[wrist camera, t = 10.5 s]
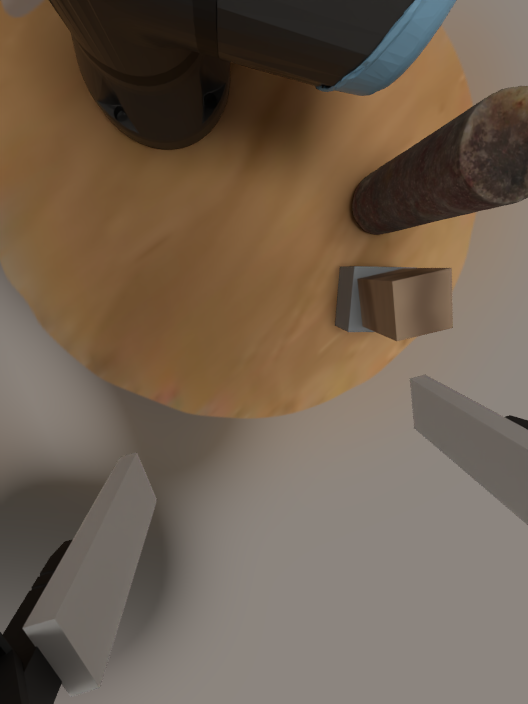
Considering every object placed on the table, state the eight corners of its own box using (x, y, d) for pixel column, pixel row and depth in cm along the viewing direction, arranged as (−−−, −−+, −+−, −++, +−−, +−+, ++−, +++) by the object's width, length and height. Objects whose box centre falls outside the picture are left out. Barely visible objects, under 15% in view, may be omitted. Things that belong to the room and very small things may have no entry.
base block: (339, 266, 40) (354, 266, 35) (394, 268, 41) (416, 267, 36) (334, 324, 42) (348, 331, 37) (387, 324, 43) (407, 331, 38)
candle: (348, 240, 39) (466, 210, 20) (344, 178, 37) (470, 79, 18) (403, 231, 40) (568, 194, 20) (402, 170, 37) (584, 65, 18)
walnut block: (362, 326, 37) (396, 341, 30) (357, 278, 36) (392, 281, 28) (407, 315, 38) (452, 327, 30) (404, 268, 36) (451, 268, 28)
